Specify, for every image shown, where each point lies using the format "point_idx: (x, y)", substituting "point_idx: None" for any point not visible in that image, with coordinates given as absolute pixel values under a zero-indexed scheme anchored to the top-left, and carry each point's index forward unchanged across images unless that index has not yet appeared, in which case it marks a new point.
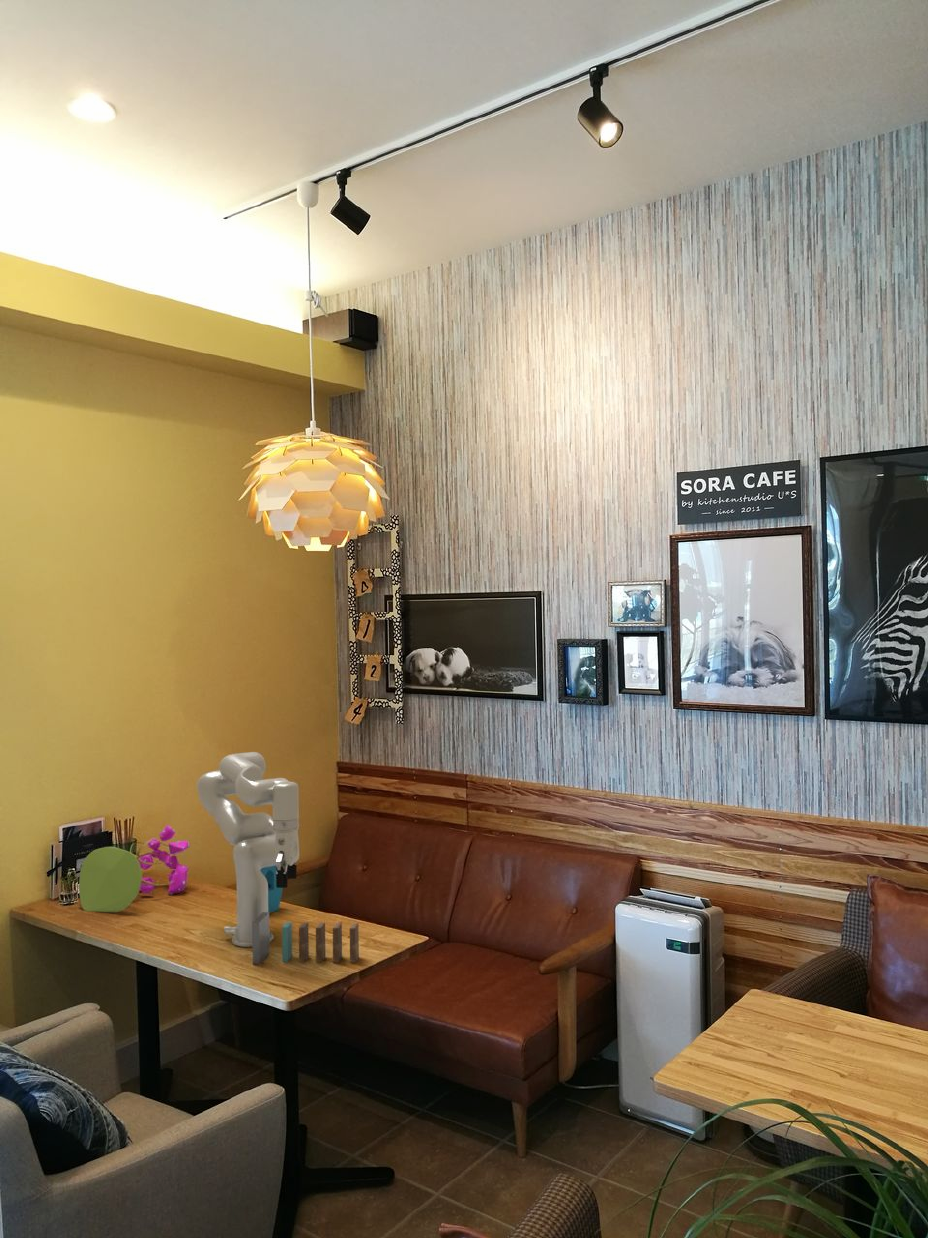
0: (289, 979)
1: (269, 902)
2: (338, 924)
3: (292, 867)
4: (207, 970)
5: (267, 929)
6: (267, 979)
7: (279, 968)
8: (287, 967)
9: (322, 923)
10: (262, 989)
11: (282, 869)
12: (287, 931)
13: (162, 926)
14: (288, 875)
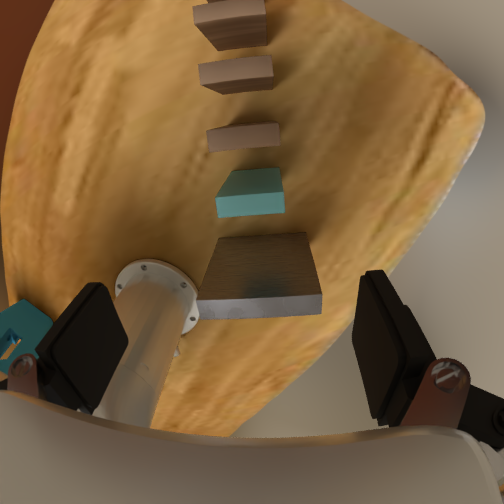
0: (396, 128)
1: (27, 319)
2: (215, 8)
3: (73, 364)
4: (343, 319)
5: (225, 270)
6: (398, 181)
7: (328, 174)
8: (319, 155)
9: (211, 69)
10: (447, 177)
11: (501, 410)
12: (282, 188)
13: (154, 416)
14: (115, 342)
